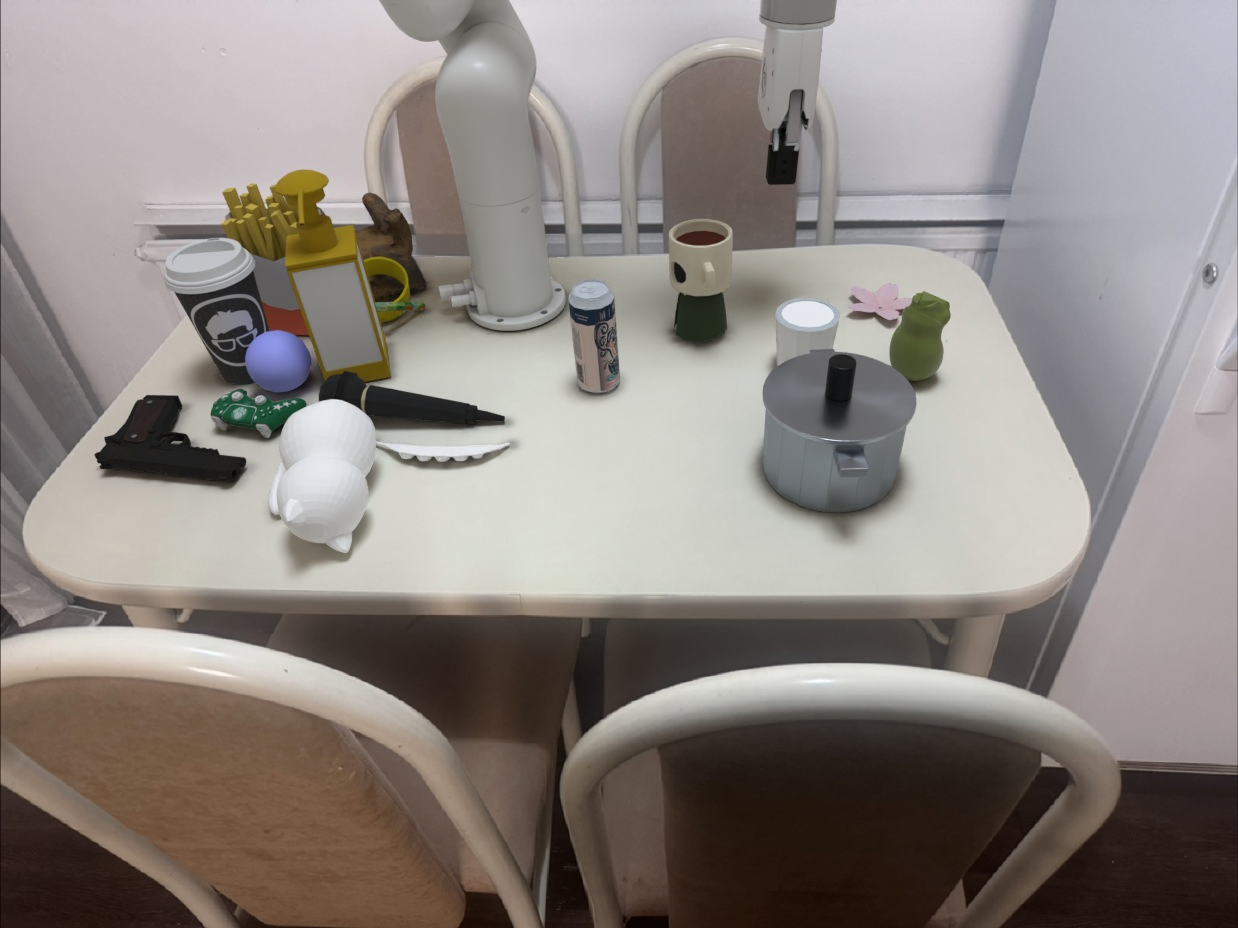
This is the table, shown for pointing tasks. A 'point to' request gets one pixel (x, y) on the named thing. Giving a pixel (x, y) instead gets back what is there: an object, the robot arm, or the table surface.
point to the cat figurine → (324, 472)
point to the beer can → (594, 336)
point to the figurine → (388, 248)
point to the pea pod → (442, 451)
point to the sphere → (278, 361)
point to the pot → (829, 468)
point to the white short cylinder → (804, 327)
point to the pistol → (163, 445)
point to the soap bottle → (332, 285)
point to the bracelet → (392, 269)
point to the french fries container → (267, 251)
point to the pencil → (400, 306)
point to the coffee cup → (219, 300)
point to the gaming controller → (253, 411)
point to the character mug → (700, 277)
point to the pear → (920, 337)
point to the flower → (880, 301)
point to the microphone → (399, 402)
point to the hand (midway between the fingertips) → (780, 181)
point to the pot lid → (839, 398)
